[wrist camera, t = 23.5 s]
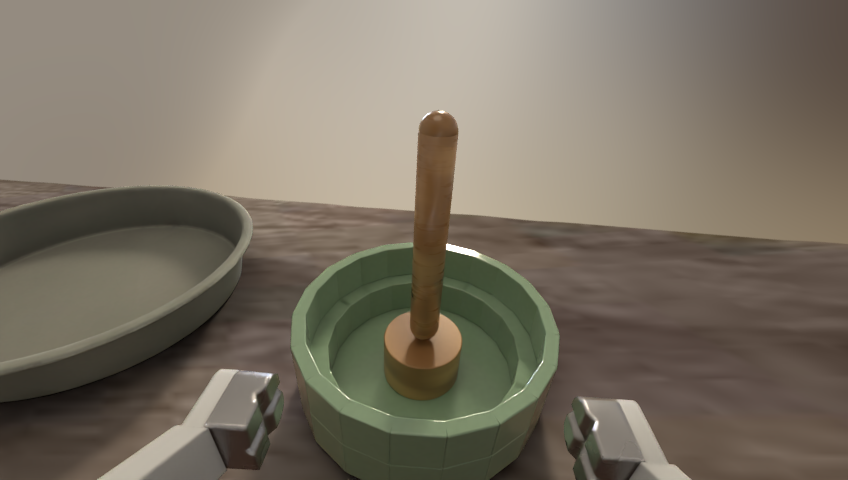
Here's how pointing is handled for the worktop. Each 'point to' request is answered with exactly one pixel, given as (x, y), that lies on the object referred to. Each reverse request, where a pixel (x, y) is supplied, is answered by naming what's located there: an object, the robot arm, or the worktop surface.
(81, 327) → the cake pan
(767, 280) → the worktop surface
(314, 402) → the bowl
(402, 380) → the wooden peg stand
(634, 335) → the worktop surface
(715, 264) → the worktop surface
